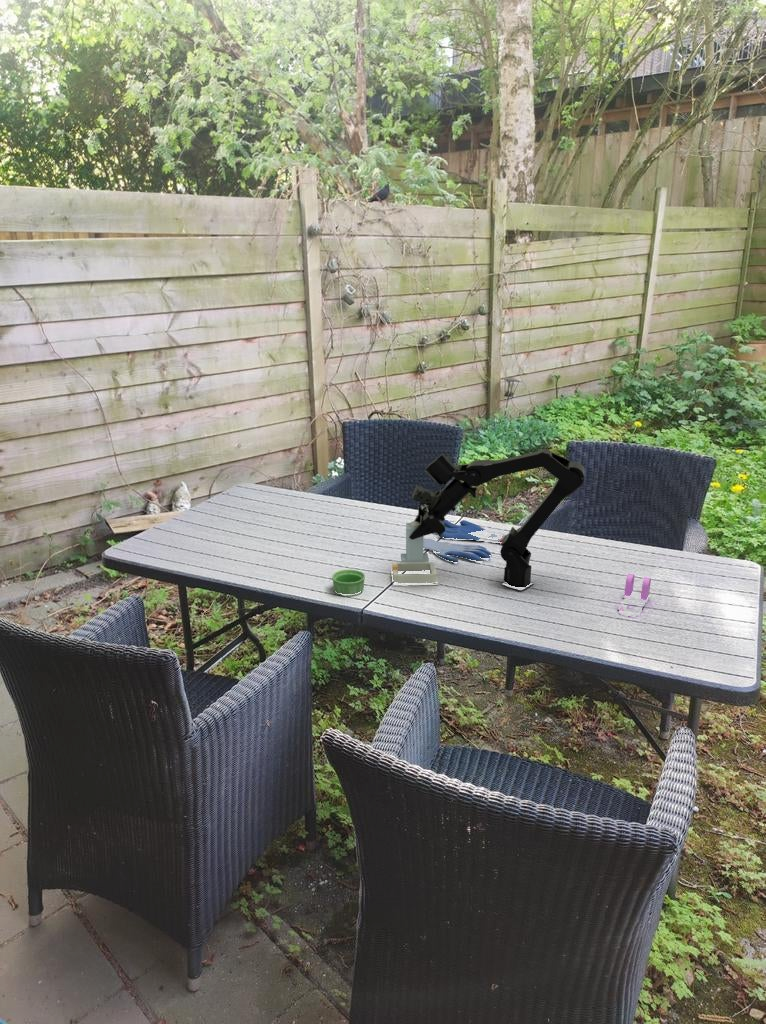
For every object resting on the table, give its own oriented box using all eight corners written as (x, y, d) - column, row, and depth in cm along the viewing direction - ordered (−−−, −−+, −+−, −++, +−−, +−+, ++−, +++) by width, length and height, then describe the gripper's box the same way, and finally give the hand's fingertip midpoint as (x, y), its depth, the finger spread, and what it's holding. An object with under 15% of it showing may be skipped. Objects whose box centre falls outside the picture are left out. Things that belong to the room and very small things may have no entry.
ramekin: (328, 586, 196) (327, 572, 195) (359, 581, 199) (358, 567, 198) (337, 600, 188) (337, 584, 187) (369, 594, 191) (369, 579, 190)
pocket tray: (435, 570, 206) (435, 557, 204) (438, 585, 196) (439, 572, 195) (390, 571, 205) (390, 558, 204) (391, 586, 196) (391, 573, 194)
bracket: (626, 595, 191) (629, 571, 188) (648, 599, 188) (651, 575, 186) (615, 614, 180) (617, 589, 178) (637, 619, 177) (640, 594, 175)
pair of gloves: (480, 571, 206) (481, 560, 205) (402, 555, 218) (402, 544, 217) (516, 537, 233) (517, 526, 232) (445, 524, 244) (445, 514, 243)
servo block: (427, 555, 201) (427, 519, 197) (428, 561, 197) (429, 525, 193) (400, 556, 201) (400, 520, 197) (401, 562, 196) (401, 525, 193)
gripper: (426, 467, 200) (387, 505, 203) (433, 487, 182) (390, 528, 185) (453, 493, 203) (414, 530, 206) (462, 515, 185) (420, 555, 188)
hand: (409, 535), depth 196 cm, fingers closed on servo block, 4 cm apart
